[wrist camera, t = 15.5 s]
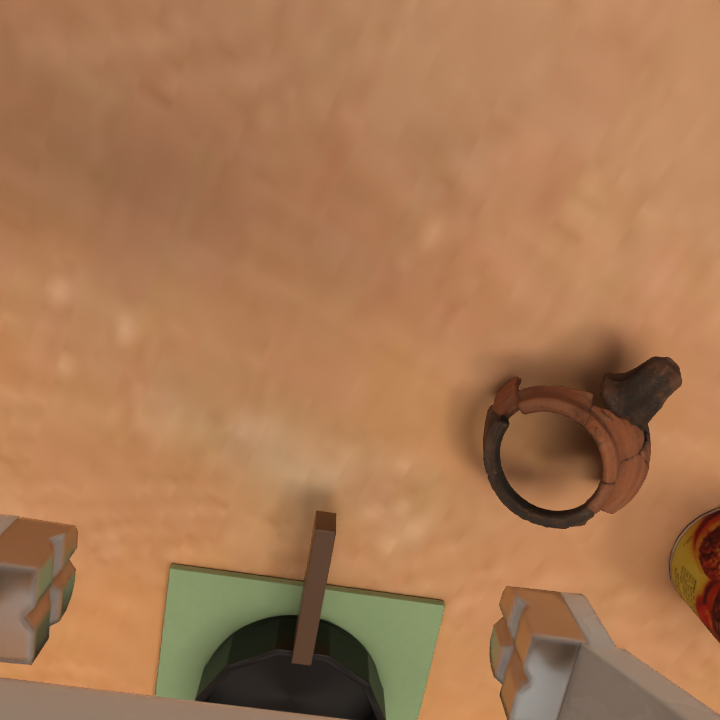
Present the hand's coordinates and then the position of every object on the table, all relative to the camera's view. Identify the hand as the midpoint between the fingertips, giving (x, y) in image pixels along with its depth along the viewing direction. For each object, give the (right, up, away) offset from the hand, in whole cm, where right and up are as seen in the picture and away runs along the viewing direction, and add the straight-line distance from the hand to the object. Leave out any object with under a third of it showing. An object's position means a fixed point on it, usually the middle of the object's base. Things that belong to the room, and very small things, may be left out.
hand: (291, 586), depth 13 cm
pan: (-3, -14, +31) cm, 34 cm away
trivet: (-3, -18, +33) cm, 38 cm away
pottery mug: (+14, +1, +29) cm, 32 cm away
